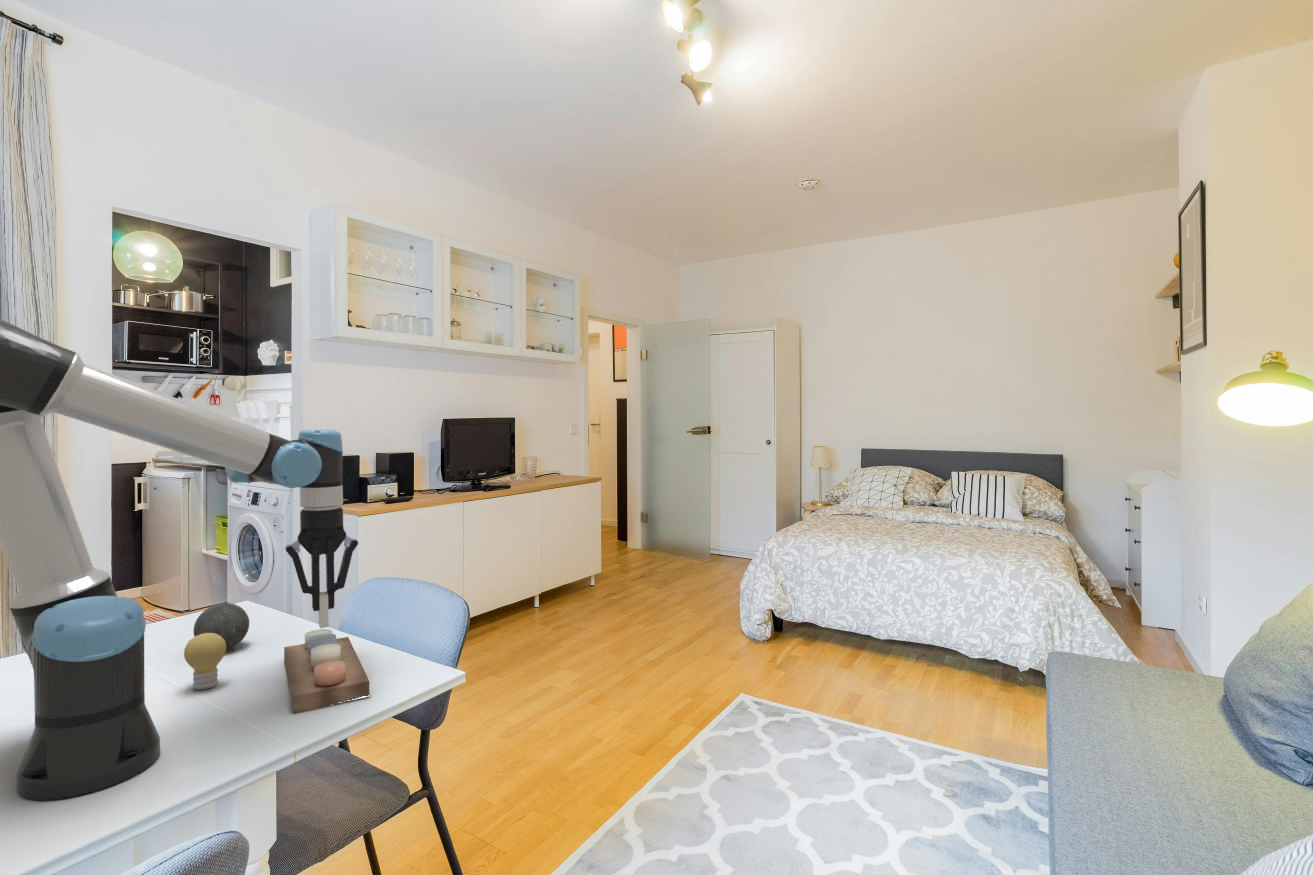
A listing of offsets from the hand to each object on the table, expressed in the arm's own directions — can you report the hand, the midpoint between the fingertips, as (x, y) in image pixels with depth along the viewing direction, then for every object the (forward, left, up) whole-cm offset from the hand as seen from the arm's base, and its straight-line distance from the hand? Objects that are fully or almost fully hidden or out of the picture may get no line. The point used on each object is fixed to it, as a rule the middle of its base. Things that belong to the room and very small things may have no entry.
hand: (323, 625), depth 126 cm
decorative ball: (-17, +25, -10) cm, 32 cm away
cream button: (0, -7, -5) cm, 9 cm away
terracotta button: (0, -14, -6) cm, 15 cm away
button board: (0, -4, -9) cm, 10 cm away
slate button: (0, 0, -5) cm, 5 cm away
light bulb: (-19, +3, -9) cm, 22 cm away
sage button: (0, +7, -6) cm, 9 cm away
